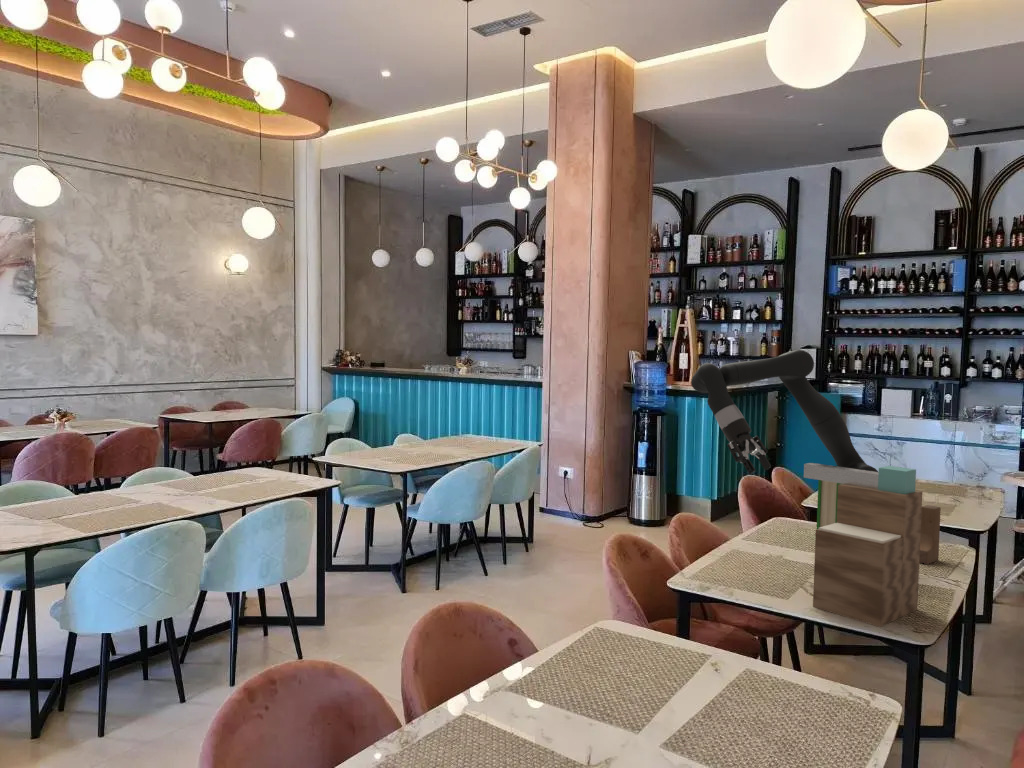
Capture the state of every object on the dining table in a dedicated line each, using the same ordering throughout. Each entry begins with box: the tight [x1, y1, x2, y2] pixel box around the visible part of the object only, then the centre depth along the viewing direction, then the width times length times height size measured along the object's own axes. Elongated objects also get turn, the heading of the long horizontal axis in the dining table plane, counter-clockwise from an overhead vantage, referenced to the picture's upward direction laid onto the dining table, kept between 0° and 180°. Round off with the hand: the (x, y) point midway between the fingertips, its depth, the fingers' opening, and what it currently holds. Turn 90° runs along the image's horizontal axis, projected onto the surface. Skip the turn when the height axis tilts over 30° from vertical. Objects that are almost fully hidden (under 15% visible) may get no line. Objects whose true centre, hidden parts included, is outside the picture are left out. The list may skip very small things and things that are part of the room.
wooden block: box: [919, 504, 941, 565], centre depth 244 cm, size 9×4×18 cm, turn 128°
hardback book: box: [816, 480, 841, 530], centre depth 273 cm, size 18×7×24 cm, turn 138°
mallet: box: [803, 462, 917, 494], centre depth 205 cm, size 6×29×6 cm, turn 38°
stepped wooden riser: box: [812, 484, 923, 628], centre depth 198 cm, size 21×18×32 cm
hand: (760, 470), depth 217 cm, fingers open, 8 cm apart
